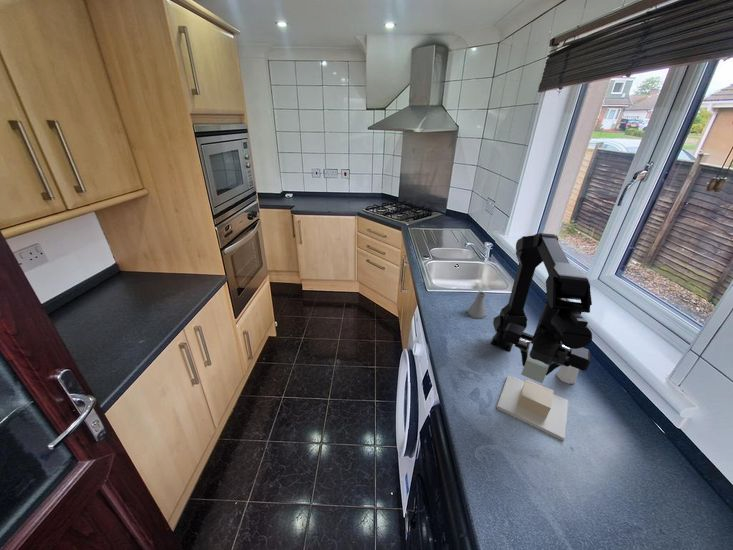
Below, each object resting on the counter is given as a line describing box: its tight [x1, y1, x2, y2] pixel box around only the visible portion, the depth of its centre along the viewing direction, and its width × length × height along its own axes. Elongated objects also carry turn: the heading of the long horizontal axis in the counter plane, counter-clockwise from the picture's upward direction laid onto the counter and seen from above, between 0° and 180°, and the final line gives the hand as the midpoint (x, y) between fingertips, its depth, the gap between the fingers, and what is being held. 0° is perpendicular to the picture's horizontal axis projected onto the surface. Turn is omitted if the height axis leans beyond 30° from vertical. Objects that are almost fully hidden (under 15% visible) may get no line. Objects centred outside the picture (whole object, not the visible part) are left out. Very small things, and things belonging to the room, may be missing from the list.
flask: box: [466, 290, 487, 319], centre depth 120 cm, size 7×7×10 cm
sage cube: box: [520, 349, 549, 384], centre depth 78 cm, size 5×5×5 cm
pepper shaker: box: [555, 366, 580, 385], centre depth 90 cm, size 5×5×11 cm
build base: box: [496, 374, 569, 442], centre depth 82 cm, size 14×16×5 cm
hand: (534, 369), depth 79 cm, fingers closed on sage cube, 5 cm apart
